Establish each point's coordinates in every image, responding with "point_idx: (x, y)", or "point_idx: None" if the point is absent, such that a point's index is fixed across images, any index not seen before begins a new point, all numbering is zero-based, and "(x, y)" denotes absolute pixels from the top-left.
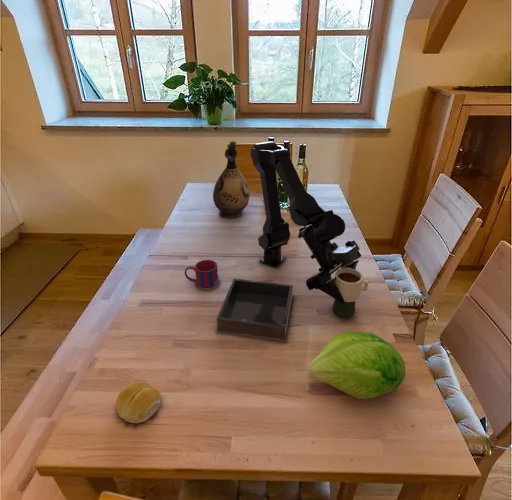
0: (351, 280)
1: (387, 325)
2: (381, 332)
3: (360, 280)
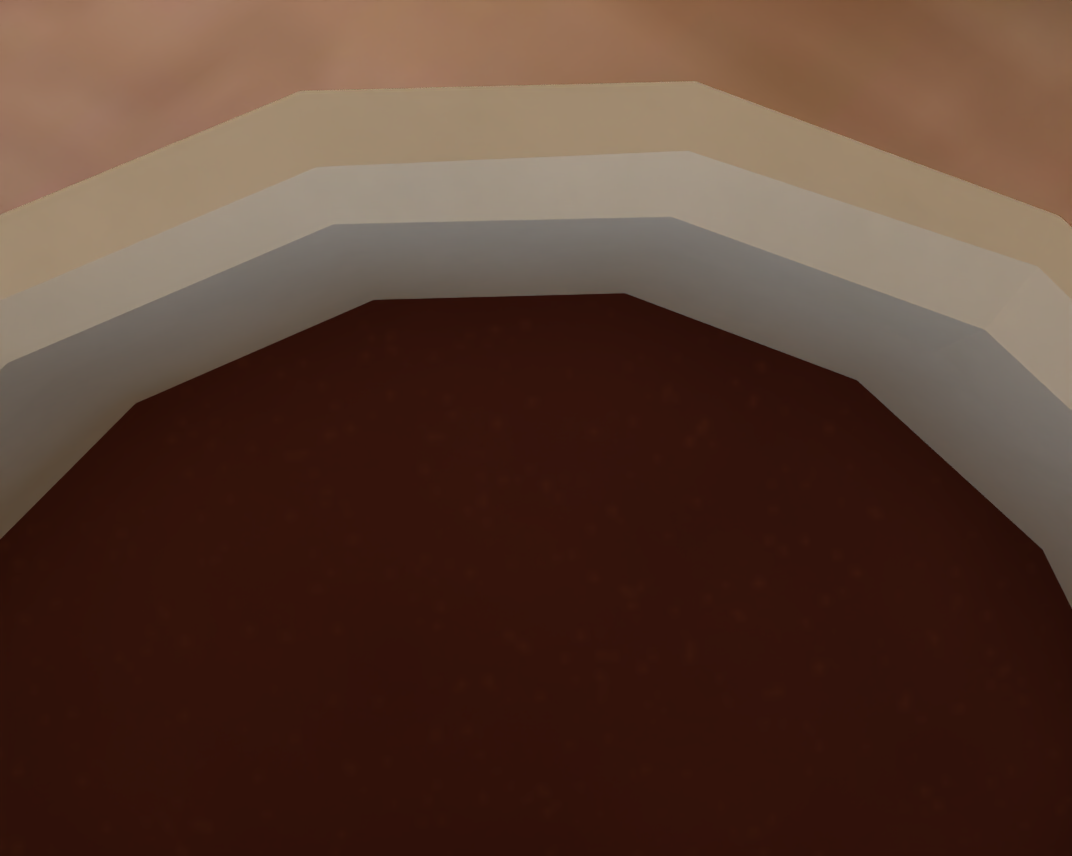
0: (467, 776)
1: (125, 53)
2: (324, 10)
3: (310, 162)
